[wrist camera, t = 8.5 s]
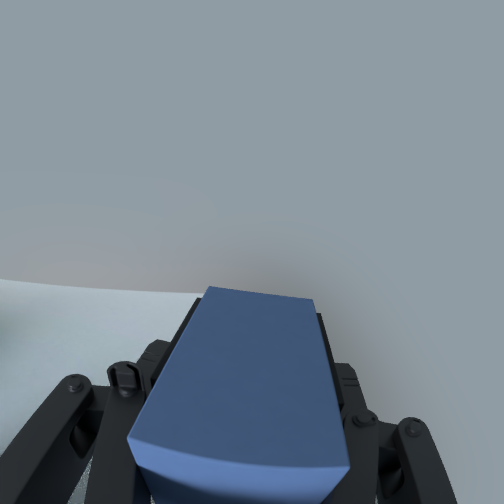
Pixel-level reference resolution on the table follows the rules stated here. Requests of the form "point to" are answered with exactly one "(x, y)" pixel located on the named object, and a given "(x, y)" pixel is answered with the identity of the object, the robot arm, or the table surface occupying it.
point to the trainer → (243, 408)
